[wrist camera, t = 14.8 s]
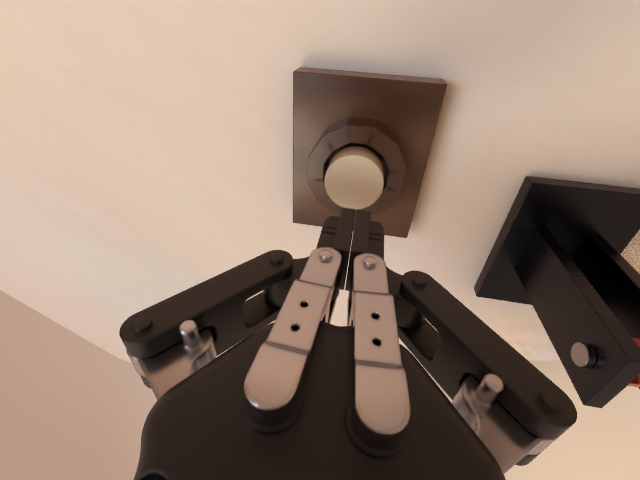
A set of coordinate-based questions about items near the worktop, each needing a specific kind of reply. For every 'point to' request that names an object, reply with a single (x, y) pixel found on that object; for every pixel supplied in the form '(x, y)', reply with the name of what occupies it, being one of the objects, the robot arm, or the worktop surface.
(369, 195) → the button
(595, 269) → the bracket
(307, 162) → the button block
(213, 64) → the worktop surface
